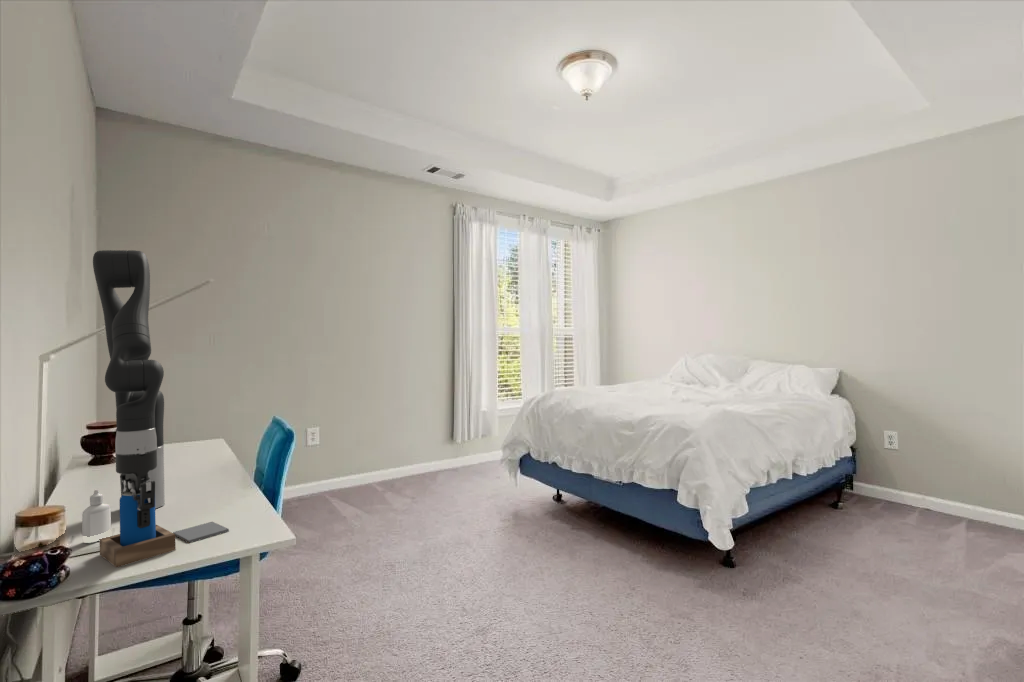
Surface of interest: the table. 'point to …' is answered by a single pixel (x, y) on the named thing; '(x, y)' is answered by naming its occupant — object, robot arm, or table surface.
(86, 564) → the table surface
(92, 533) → the eye dropper bottle
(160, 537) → the walnut collar
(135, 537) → the beverage can
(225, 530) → the rubber mat
